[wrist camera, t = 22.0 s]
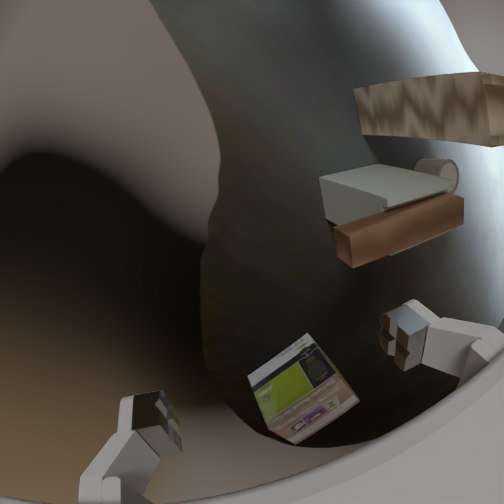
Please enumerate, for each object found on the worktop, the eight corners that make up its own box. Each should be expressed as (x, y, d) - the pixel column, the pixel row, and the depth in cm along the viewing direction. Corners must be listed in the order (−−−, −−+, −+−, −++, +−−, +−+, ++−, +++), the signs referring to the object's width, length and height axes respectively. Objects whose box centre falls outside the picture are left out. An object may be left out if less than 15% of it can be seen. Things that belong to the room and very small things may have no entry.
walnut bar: (333, 226, 32) (349, 236, 28) (445, 192, 34) (463, 197, 31) (336, 256, 33) (352, 268, 30) (445, 216, 35) (463, 223, 32)
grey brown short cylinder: (421, 147, 49) (447, 151, 43) (439, 168, 52) (463, 174, 46) (406, 175, 51) (432, 182, 44) (425, 195, 53) (449, 203, 47)
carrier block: (318, 177, 47) (387, 198, 31) (378, 163, 48) (453, 179, 32) (325, 218, 49) (390, 255, 33) (382, 201, 51) (453, 229, 35)
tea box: (272, 395, 61) (294, 447, 48) (246, 374, 57) (266, 430, 44) (329, 356, 61) (362, 402, 48) (307, 330, 57) (342, 379, 43)
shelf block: (353, 89, 43) (489, 71, 18) (408, 86, 44) (532, 82, 20) (362, 134, 46) (500, 148, 21) (415, 127, 48) (539, 142, 23)
